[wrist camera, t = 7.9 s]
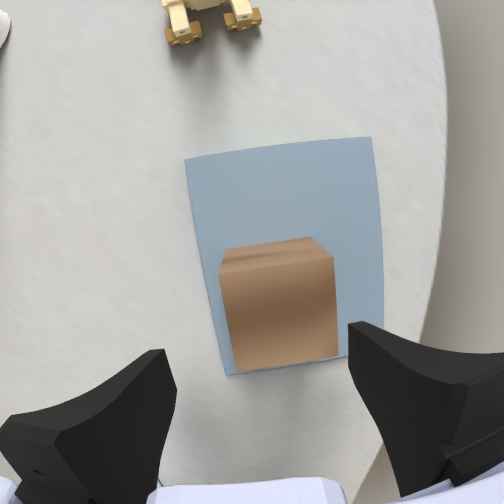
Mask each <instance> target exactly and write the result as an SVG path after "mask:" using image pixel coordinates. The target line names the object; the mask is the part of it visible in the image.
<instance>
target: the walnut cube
mask: <svg viewBox="0 0 504 504" xmlns="http://www.w3.org/2000/svg"><path fill="white" fill-rule="evenodd" d="M218 277H219V283H220V288H221V293H222V299H223V304H224V309H225V315H226V320H227V325H228V330H229V335H230V340H231V345H232V350H233V355H234V360H235V365H236V370H237V371H246V370H254V369H262V368H269V367H276V366H283V365H289V364H295V363H301V362H307V361H313V360H318V359H324V358H329V357H334V356H339V350H338V321H337V301H336V284H335V270H334V257H333V256H332V255H331V254H329V253H328V252H327V251H326V250H325V249H324V248H323V247H322V246H321V245H320V244H318V243H317V242H316V241H315V240H314V239H313V238H312V237H306V238H299V239H292V240H285V241H278V242H271V243H264V244H257V245H250V246H244V247H237V248H230V249H225V252H224V256H223V259H222V262H221V266H220V269H219V272H218Z"/></svg>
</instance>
